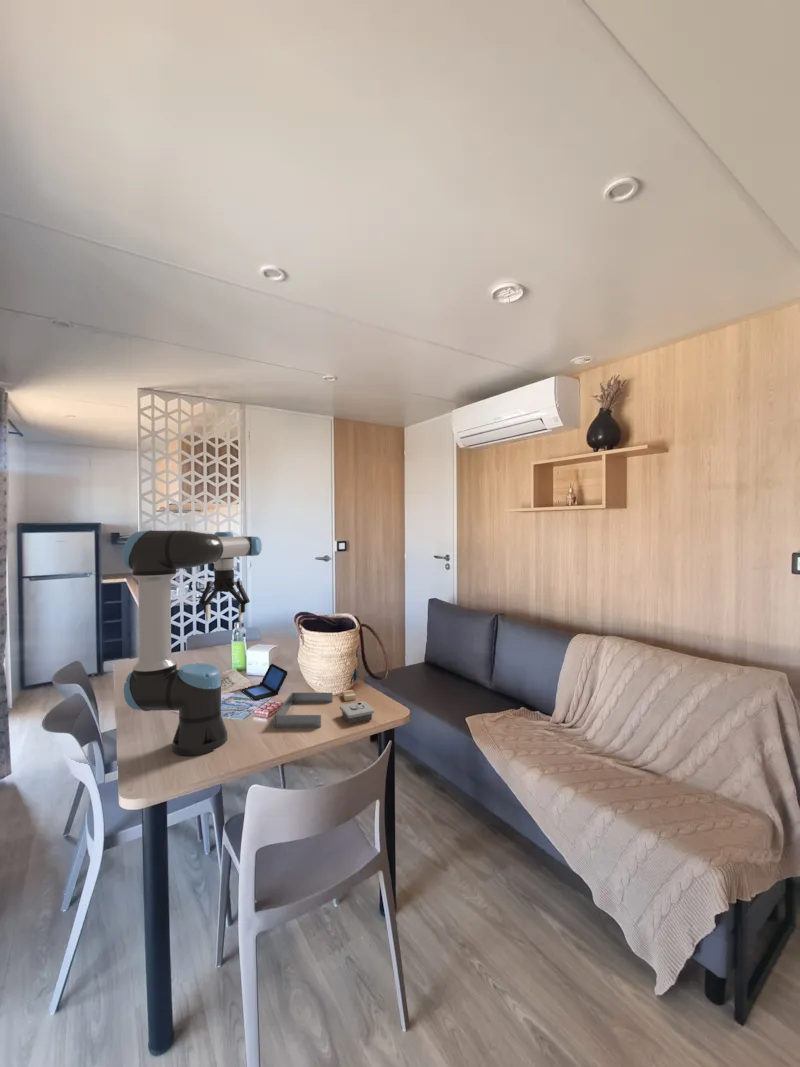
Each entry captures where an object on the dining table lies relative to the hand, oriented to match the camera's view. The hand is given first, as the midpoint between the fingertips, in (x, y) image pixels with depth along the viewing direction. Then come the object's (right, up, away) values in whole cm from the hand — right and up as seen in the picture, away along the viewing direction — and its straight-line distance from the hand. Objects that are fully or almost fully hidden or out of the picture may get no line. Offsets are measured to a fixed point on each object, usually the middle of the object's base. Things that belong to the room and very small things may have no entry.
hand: (224, 620), depth 186 cm
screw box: (+53, -27, -16) cm, 62 cm away
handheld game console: (+18, -28, -7) cm, 34 cm away
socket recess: (+40, -27, -29) cm, 56 cm away
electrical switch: (+55, -27, -30) cm, 69 cm away
